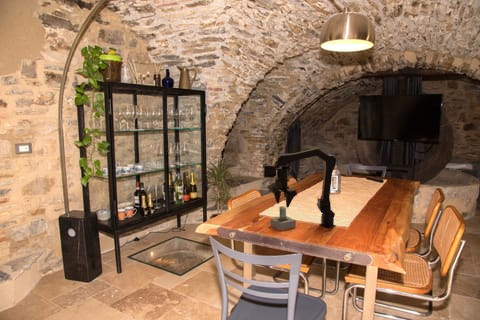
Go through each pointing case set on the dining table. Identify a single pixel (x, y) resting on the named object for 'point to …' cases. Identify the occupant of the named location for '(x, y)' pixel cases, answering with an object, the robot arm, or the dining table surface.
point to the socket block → (282, 223)
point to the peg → (282, 213)
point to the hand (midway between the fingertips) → (282, 205)
